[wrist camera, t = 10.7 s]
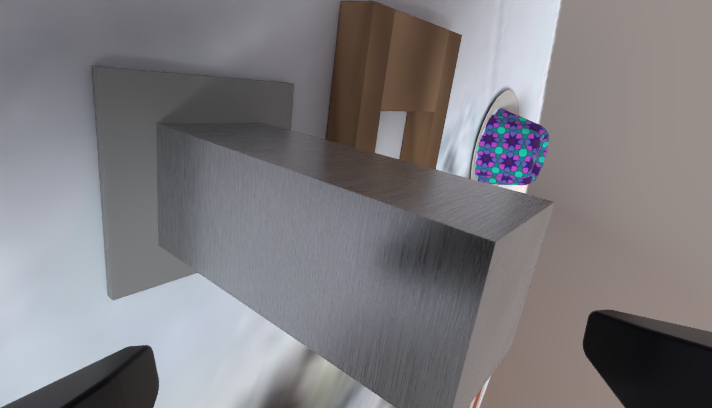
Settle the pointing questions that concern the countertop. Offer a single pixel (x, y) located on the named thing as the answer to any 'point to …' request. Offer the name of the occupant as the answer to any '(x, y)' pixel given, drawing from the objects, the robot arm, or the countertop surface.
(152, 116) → the pad
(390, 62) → the brown flat board
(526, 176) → the pudding
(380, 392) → the brushed metal block
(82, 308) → the countertop surface
